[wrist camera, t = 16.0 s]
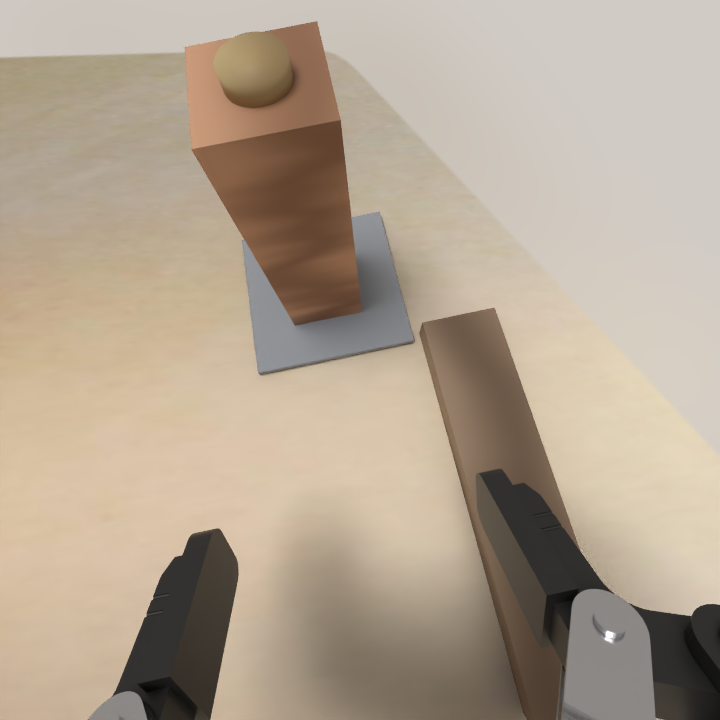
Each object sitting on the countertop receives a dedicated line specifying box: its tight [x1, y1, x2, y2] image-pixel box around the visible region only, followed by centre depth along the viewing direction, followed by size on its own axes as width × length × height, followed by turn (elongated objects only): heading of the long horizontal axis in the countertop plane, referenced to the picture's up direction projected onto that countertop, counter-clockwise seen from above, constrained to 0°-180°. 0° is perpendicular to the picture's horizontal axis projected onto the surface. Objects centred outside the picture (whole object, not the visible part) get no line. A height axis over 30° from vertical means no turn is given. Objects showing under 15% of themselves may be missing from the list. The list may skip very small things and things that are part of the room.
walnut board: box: [420, 308, 580, 720], centre depth 17 cm, size 4×18×2 cm, turn 12°
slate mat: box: [242, 212, 414, 375], centre depth 22 cm, size 9×9×1 cm
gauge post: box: [185, 22, 362, 325], centre depth 15 cm, size 4×4×13 cm
